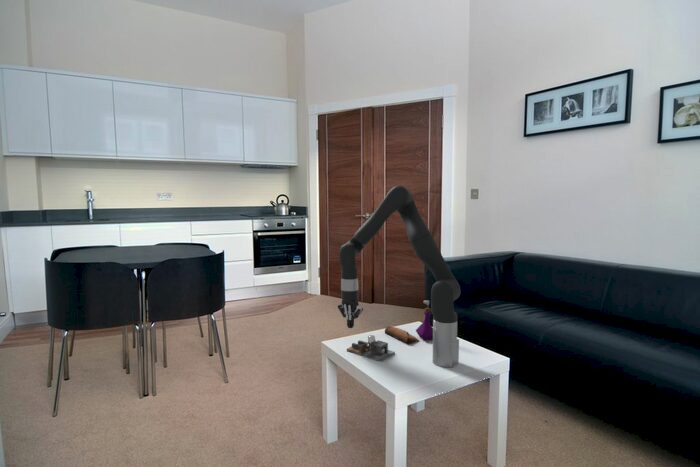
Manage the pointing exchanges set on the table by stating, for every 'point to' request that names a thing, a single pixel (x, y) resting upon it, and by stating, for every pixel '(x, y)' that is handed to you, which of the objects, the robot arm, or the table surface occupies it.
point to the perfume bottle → (425, 325)
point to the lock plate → (375, 350)
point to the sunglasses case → (401, 335)
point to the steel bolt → (370, 340)
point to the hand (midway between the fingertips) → (350, 327)
